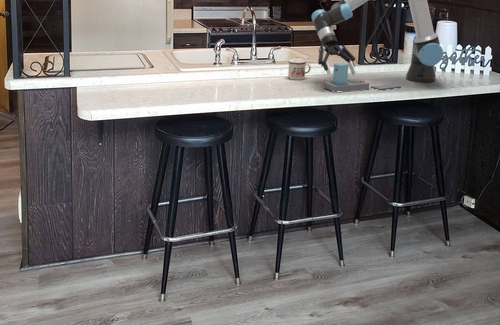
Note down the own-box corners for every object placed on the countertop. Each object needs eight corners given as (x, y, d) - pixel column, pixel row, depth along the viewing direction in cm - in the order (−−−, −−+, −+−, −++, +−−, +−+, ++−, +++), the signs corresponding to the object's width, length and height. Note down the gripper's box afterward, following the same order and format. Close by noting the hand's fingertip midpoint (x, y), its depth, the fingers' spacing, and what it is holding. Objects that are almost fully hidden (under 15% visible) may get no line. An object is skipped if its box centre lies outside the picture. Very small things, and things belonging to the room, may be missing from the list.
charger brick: (341, 85, 318) (342, 63, 314) (346, 87, 314) (348, 64, 310) (332, 86, 316) (333, 63, 312) (337, 88, 312) (339, 65, 308)
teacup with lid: (290, 80, 332) (291, 57, 328) (285, 76, 340) (286, 54, 336) (312, 79, 335) (314, 57, 331) (307, 76, 343) (308, 54, 339)
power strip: (357, 85, 325) (357, 78, 324) (369, 89, 317) (369, 82, 316) (323, 88, 317) (323, 81, 316) (334, 92, 309) (334, 85, 307)
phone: (391, 86, 327) (391, 83, 327) (400, 89, 322) (401, 86, 321) (370, 88, 320) (370, 86, 320) (379, 91, 315) (380, 89, 314)
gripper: (345, 41, 327) (360, 77, 319) (302, 44, 317) (317, 80, 309) (352, 32, 321) (367, 68, 313) (309, 34, 310) (323, 71, 303)
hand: (342, 74), depth 311 cm, fingers open, 13 cm apart
